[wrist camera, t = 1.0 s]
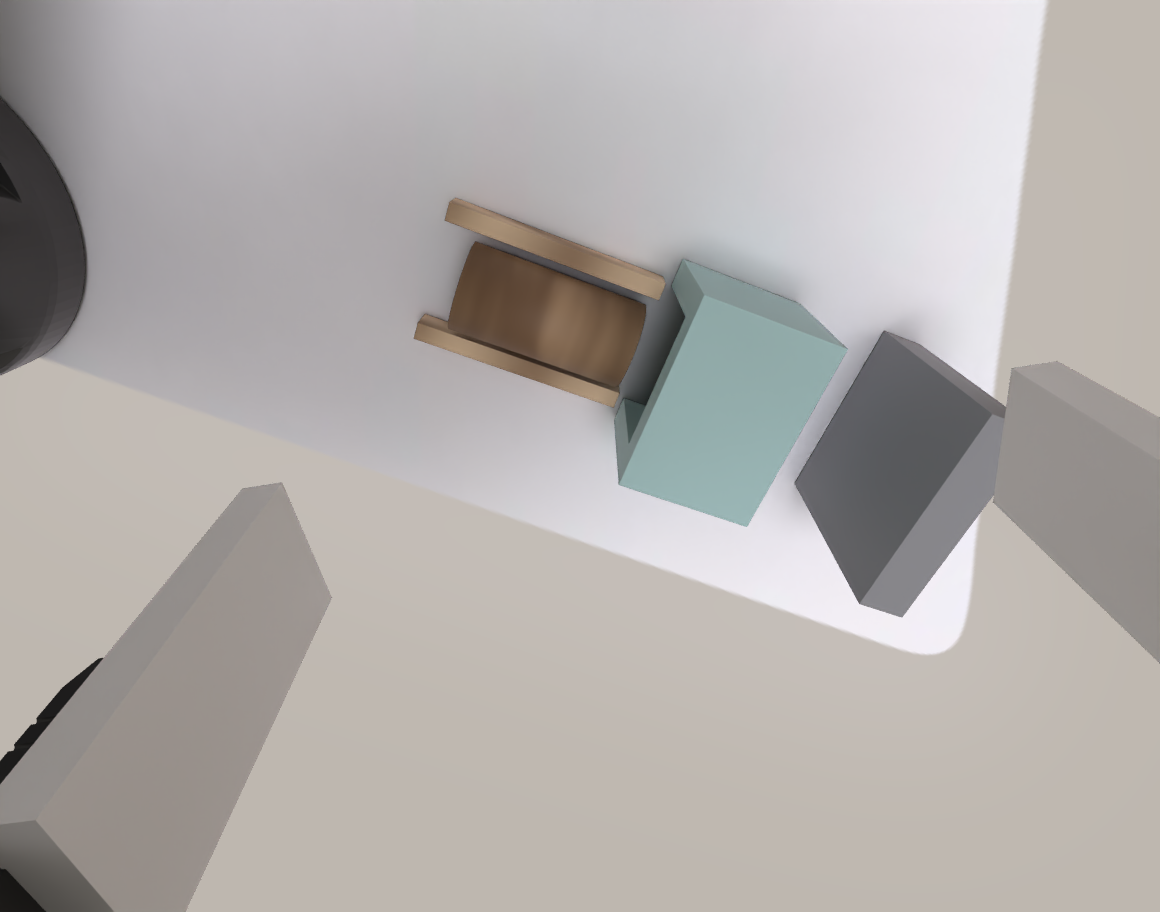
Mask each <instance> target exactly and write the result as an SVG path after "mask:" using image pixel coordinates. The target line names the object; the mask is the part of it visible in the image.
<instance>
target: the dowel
mask: <svg viewBox="0 0 1160 912" xmlns="http://www.w3.org/2000/svg"><path fill="white" fill-rule="evenodd" d="M645 316H646V305H645V304H642V303H640V302H637V301H634V300H632V299H629V298H626V297H624V296H621V295H618V294H616V293H613V292H610V291H608V290H605V289H602V288H599V287H597V286H594V285H591V284H589V283H586V282H583V281H581V280H578V279H575V278H573V277H570V276H567V275H564V274H562V273H559V272H556V271H554V270H551V269H548V268H546V267H543V266H540V265H538V264H535V263H532V262H529V261H527V260H524V259H521V258H519V257H516V256H513V255H511V254H508V253H505V252H503V251H500V250H497V249H495V248H492V247H489V246H486V245H484V244H481V243H478V242H474V244H473V246H472V248H471V250H470V252H469V254H468V257H467V259H466V262H465V265H464V268H463V270H462V273H461V276H460V279H459V282H458V286H457V289H456V292H455V296H454V299H453V303H452V307H451V311H450V315H449V320H448V329H450V330H453V331H456V332H459V333H462V334H465V335H467V336H470V337H473V338H476V339H479V340H482V341H484V342H487V343H490V344H493V345H496V346H499V347H502V348H504V349H507V350H510V351H513V352H516V353H519V354H522V355H524V356H527V357H530V358H533V359H536V360H539V361H542V362H544V363H547V364H550V365H553V366H556V367H559V368H561V369H564V370H567V371H570V372H573V373H576V374H579V375H581V376H584V377H587V378H590V379H593V380H596V381H599V382H601V383H604V384H607V385H610V386H613V387H617V386H618V385H619V384H620V382H621V381H622V379H623V377H624V376H625V374H626V372H627V370H628V367H629V365H630V363H631V361H632V358H633V356H634V353H635V351H636V348H637V345H638V342H639V339H640V336H641V333H642V329H643V326H644V321H645Z"/></svg>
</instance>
